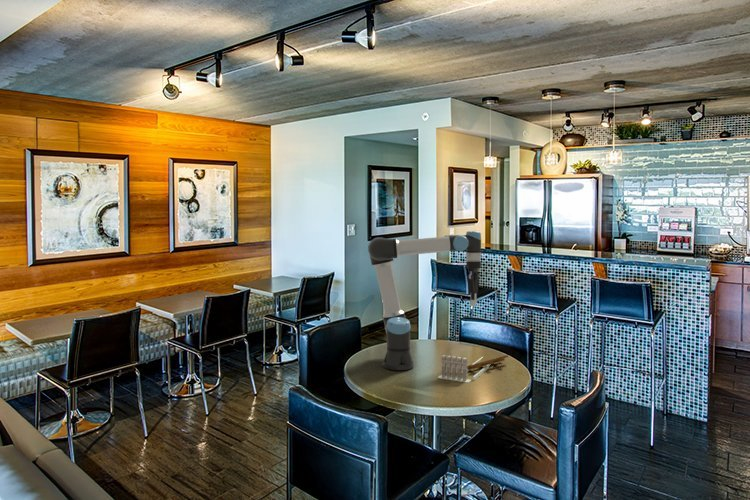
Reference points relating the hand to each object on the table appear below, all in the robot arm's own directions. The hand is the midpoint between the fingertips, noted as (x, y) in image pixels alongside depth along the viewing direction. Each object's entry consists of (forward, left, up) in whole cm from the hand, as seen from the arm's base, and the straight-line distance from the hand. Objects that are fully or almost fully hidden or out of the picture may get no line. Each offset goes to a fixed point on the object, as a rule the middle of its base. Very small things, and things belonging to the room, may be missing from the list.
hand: (473, 305), depth 260 cm
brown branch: (+7, -11, -28) cm, 30 cm away
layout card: (+3, -38, -28) cm, 47 cm away
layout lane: (+8, -17, -28) cm, 34 cm away
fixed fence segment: (+3, -37, -28) cm, 47 cm away
